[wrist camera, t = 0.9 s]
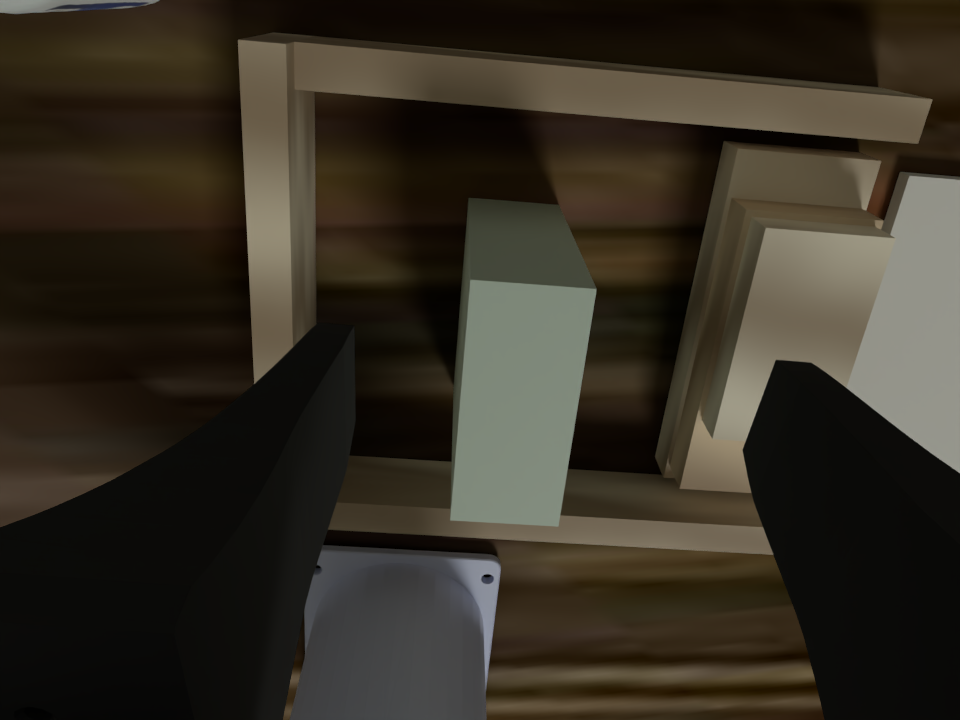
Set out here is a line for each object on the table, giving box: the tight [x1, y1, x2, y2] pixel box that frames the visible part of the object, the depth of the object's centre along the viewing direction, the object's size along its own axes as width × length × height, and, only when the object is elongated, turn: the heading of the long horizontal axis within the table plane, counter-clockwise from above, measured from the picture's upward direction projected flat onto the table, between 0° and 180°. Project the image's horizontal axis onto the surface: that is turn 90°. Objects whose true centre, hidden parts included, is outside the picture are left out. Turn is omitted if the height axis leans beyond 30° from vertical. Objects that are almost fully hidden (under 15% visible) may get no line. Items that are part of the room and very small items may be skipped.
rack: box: [238, 32, 932, 555], centre depth 25 cm, size 16×19×4 cm
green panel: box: [450, 198, 597, 527], centre depth 23 cm, size 7×3×8 cm, turn 175°
